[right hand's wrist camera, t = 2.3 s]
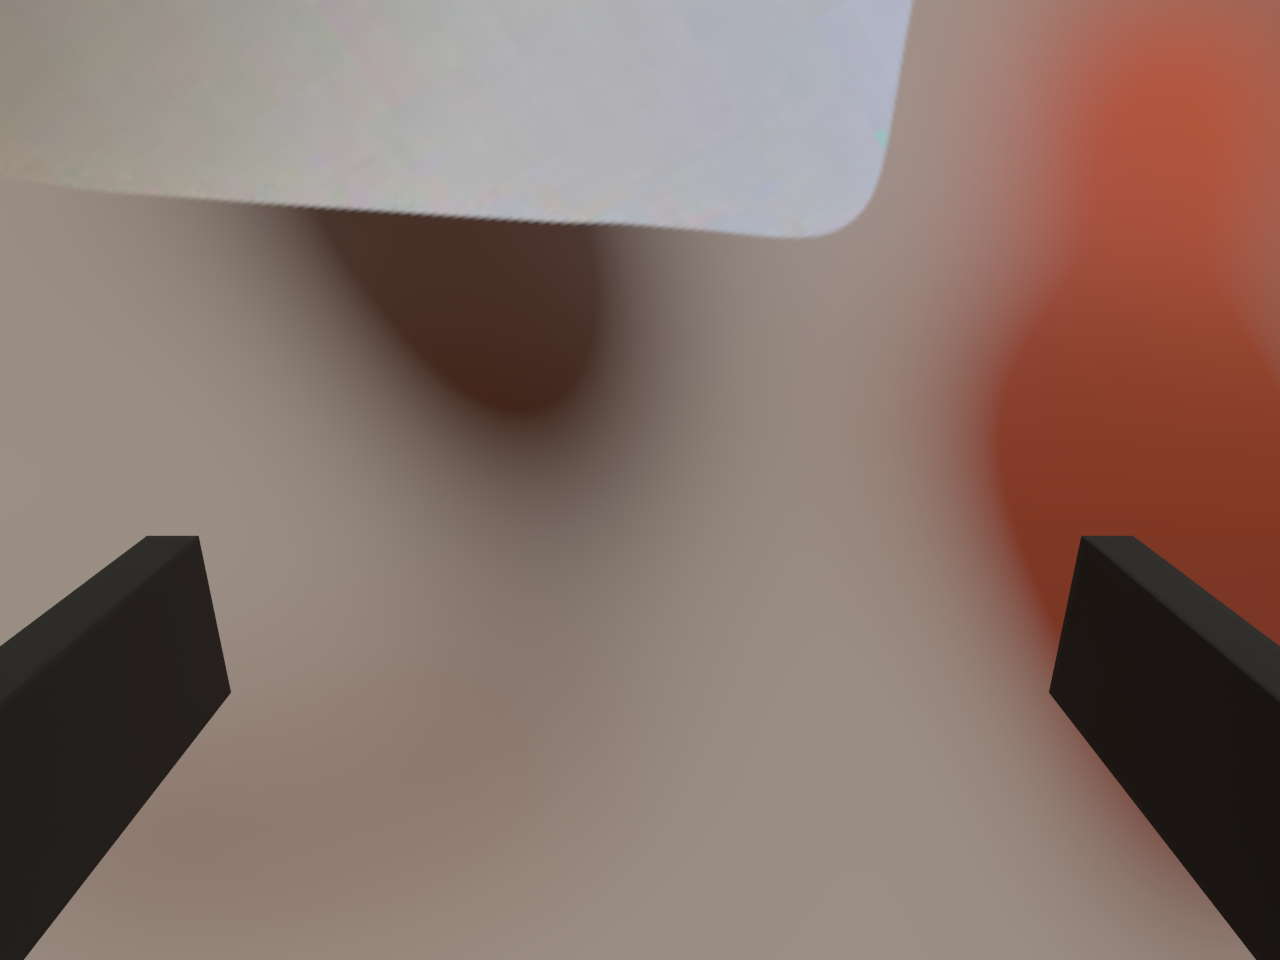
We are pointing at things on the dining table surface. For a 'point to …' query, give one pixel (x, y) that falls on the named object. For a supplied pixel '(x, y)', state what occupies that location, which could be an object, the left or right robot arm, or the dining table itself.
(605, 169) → the dining table surface
